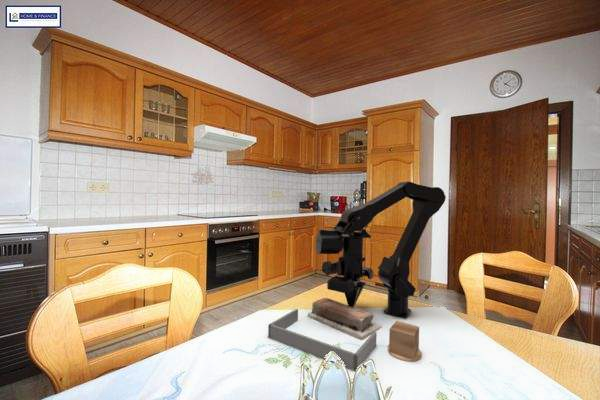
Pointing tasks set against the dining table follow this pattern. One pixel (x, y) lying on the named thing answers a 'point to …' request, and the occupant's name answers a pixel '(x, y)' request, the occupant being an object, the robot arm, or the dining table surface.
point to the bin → (317, 342)
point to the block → (404, 339)
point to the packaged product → (344, 318)
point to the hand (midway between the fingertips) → (351, 308)
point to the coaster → (417, 357)
